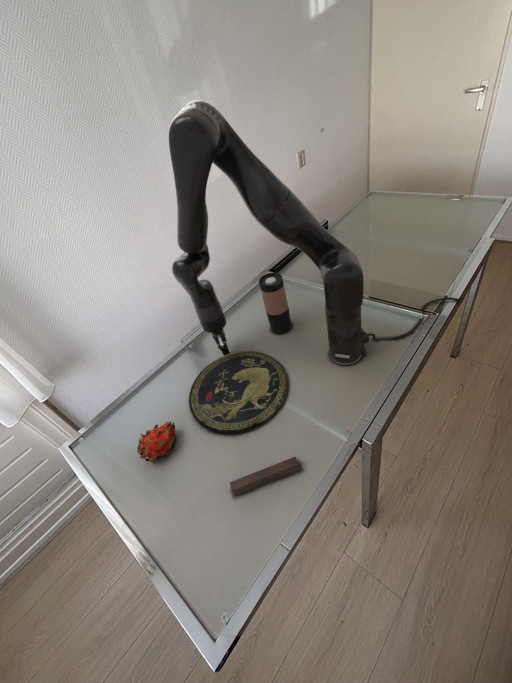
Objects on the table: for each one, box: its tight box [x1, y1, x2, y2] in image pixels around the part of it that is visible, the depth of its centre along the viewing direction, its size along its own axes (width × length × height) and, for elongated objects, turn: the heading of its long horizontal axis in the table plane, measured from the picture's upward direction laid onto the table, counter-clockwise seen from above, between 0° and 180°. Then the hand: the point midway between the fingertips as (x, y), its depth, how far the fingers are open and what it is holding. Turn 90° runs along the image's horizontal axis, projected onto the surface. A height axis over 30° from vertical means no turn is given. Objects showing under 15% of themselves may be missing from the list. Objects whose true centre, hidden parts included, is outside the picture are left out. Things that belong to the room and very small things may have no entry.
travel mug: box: [258, 272, 292, 335], centre depth 105 cm, size 8×8×20 cm
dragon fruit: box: [136, 421, 177, 462], centre depth 84 cm, size 8×8×12 cm
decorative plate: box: [188, 350, 289, 435], centre depth 95 cm, size 30×2×30 cm
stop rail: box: [229, 456, 301, 496], centre depth 73 cm, size 16×2×3 cm, turn 106°
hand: (226, 353), depth 107 cm, fingers closed
